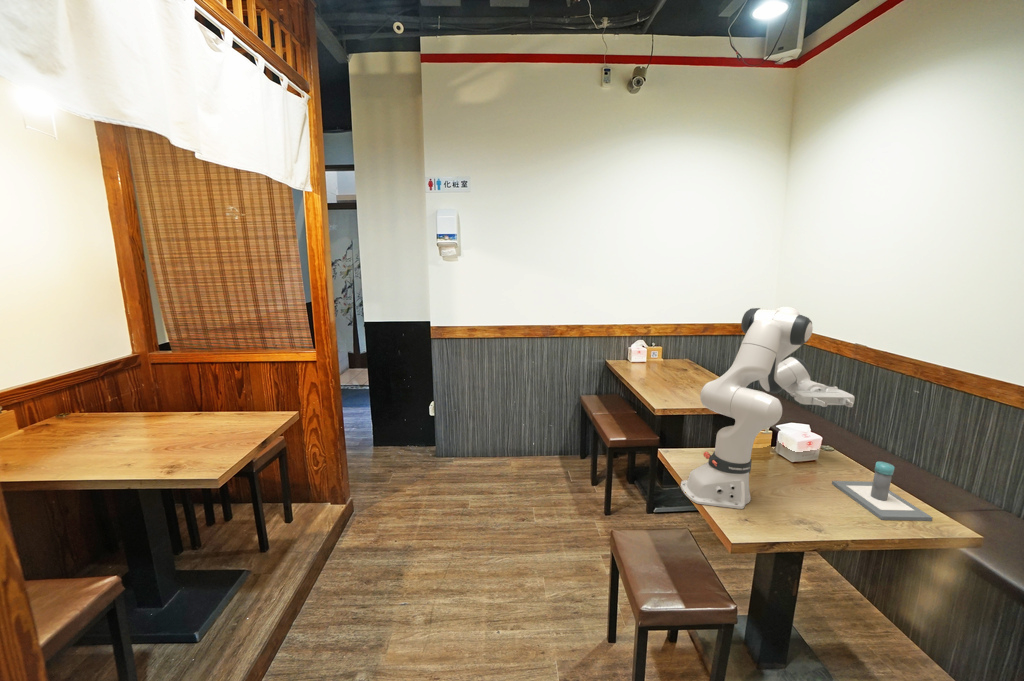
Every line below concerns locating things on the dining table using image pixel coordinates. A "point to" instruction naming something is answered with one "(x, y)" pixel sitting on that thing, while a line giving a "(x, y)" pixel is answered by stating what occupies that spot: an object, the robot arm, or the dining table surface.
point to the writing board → (881, 502)
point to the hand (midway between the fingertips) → (838, 405)
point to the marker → (882, 480)
